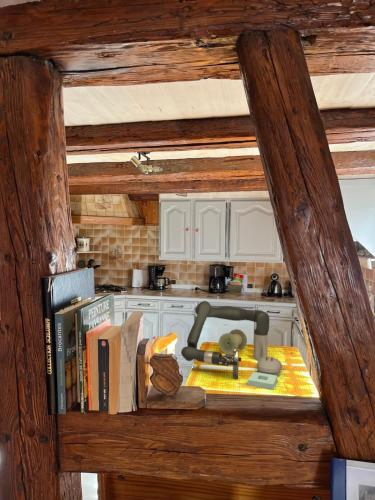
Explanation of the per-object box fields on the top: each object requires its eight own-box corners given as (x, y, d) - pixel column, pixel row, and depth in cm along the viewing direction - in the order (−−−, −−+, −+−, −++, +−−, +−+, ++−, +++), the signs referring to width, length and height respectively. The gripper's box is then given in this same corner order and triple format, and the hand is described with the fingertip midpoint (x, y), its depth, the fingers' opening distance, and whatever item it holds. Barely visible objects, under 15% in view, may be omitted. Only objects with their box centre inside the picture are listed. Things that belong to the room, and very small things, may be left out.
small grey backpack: (257, 365, 220) (255, 376, 201) (258, 352, 220) (255, 362, 201) (281, 368, 216) (281, 379, 197) (282, 355, 216) (281, 365, 197)
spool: (237, 356, 238) (237, 335, 238) (218, 352, 246) (218, 332, 246) (246, 350, 252) (247, 330, 252) (228, 347, 260) (228, 327, 260)
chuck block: (253, 376, 201) (253, 371, 201) (277, 380, 195) (277, 375, 195) (247, 385, 188) (247, 379, 188) (273, 389, 182) (273, 384, 182)
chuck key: (234, 375, 202) (235, 346, 202) (239, 376, 200) (240, 347, 200) (231, 379, 195) (231, 349, 195) (236, 380, 194) (237, 350, 194)
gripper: (208, 354, 197) (236, 359, 190) (216, 348, 210) (242, 352, 203) (208, 367, 197) (235, 372, 190) (216, 360, 210) (242, 364, 203)
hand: (239, 361), depth 197 cm, fingers open, 7 cm apart
